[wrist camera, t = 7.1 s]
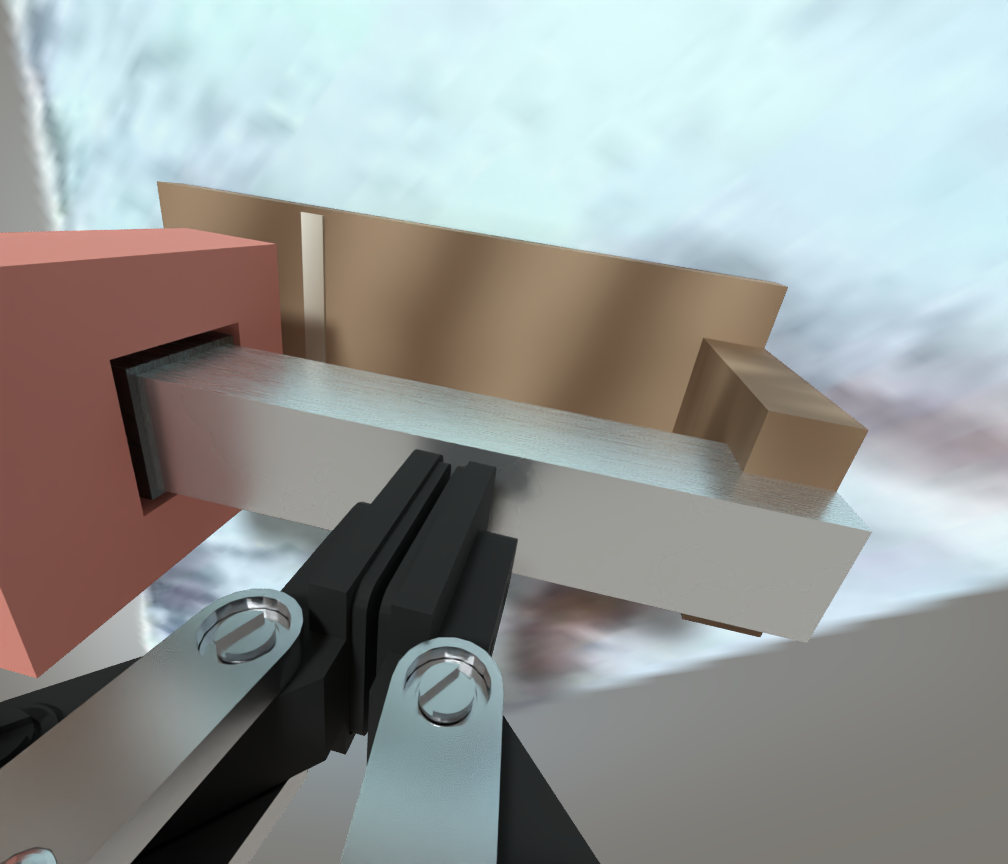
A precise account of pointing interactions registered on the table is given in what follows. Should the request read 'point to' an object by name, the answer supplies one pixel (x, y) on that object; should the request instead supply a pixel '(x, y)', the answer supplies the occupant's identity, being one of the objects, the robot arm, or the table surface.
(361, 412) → the rod
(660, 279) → the pipe stand
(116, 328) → the salmon pink rectangular block
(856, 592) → the table surface
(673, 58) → the table surface
